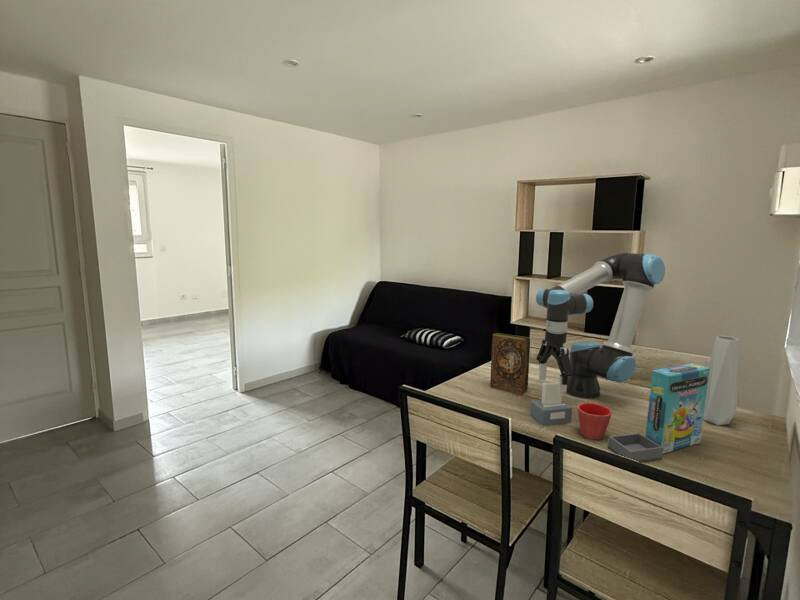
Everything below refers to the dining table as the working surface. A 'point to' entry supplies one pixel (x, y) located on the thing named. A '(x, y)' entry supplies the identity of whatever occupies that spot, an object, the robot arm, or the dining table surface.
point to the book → (510, 363)
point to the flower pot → (593, 420)
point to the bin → (635, 447)
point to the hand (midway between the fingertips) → (551, 385)
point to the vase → (722, 381)
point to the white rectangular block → (551, 394)
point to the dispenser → (551, 413)
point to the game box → (677, 406)
